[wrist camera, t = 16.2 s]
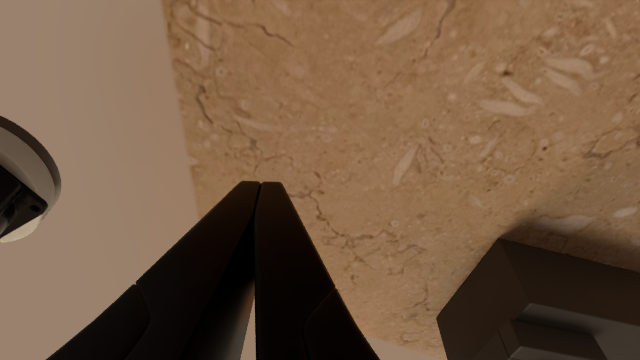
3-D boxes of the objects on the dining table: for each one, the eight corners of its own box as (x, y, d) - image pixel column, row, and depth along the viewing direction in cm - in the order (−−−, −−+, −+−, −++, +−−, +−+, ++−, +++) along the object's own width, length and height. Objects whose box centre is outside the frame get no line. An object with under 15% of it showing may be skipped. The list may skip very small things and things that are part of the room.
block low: (430, 317, 32) (455, 410, 27) (492, 236, 27) (538, 329, 22) (565, 344, 35) (614, 434, 29) (644, 273, 30) (722, 366, 24)
